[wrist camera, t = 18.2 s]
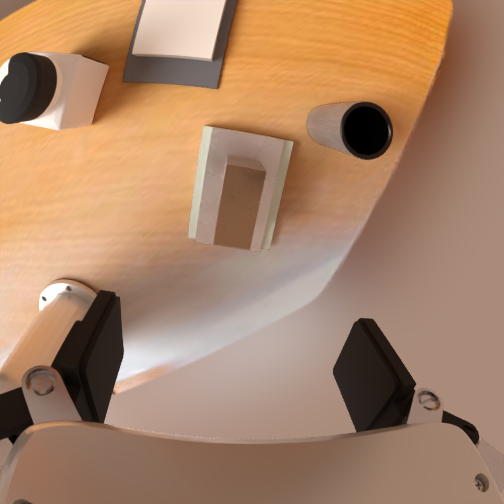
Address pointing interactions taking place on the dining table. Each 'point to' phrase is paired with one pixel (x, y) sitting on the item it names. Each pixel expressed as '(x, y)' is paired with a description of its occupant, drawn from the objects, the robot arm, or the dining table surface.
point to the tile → (179, 29)
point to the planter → (352, 128)
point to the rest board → (276, 192)
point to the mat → (180, 61)
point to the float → (237, 189)
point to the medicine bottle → (50, 89)
